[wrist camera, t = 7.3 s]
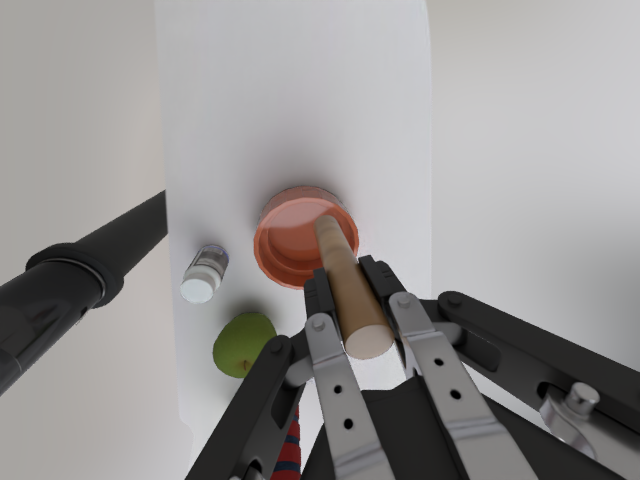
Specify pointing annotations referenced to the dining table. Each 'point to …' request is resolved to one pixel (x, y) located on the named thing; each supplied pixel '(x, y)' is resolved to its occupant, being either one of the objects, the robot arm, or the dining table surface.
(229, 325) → the apple
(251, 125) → the dining table surface
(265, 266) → the bowl
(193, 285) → the pill bottle
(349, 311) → the stirring stick
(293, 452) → the red striped curved tube
